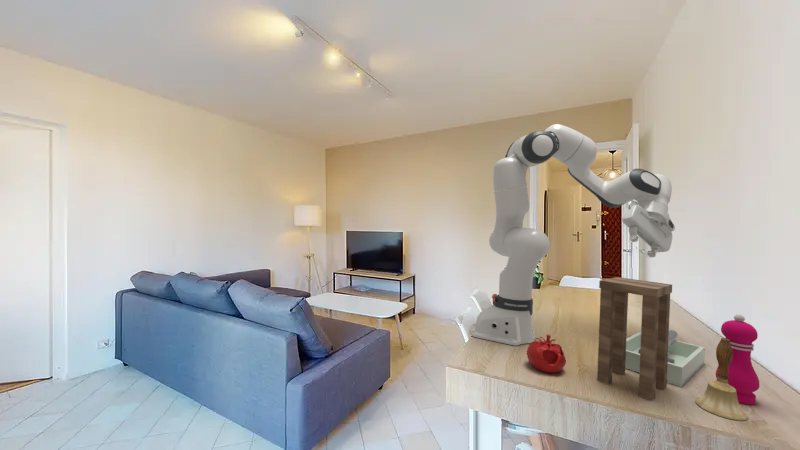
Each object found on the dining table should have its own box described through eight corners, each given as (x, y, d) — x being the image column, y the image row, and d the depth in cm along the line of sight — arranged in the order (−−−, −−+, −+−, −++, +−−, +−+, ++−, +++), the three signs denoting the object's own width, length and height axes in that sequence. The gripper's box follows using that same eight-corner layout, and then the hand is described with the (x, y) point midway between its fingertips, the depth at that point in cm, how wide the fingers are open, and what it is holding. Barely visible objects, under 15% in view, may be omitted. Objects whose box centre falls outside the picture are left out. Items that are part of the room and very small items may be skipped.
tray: (640, 346, 108) (640, 331, 108) (704, 363, 95) (704, 347, 95) (610, 363, 93) (610, 346, 93) (681, 387, 80) (682, 367, 80)
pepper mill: (738, 390, 79) (741, 311, 79) (768, 407, 72) (772, 320, 72) (706, 388, 80) (709, 309, 80) (733, 404, 73) (737, 318, 72)
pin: (657, 332, 105) (657, 326, 104) (689, 341, 98) (689, 334, 98) (638, 358, 95) (637, 351, 95) (672, 369, 89) (672, 362, 88)
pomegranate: (518, 363, 91) (520, 331, 91) (543, 358, 95) (545, 327, 95) (547, 379, 82) (549, 343, 82) (574, 373, 86) (575, 339, 86)
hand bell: (740, 407, 72) (743, 337, 72) (754, 426, 65) (758, 348, 65) (691, 395, 76) (694, 329, 76) (699, 411, 69) (702, 339, 69)
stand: (614, 368, 89) (617, 277, 89) (668, 387, 80) (672, 284, 80) (595, 379, 82) (599, 280, 82) (652, 401, 73) (657, 289, 72)
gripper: (641, 195, 104) (632, 229, 99) (678, 230, 109) (671, 264, 104) (621, 200, 110) (612, 232, 105) (657, 232, 114) (650, 265, 109)
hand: (642, 248), depth 104 cm, fingers open, 8 cm apart
